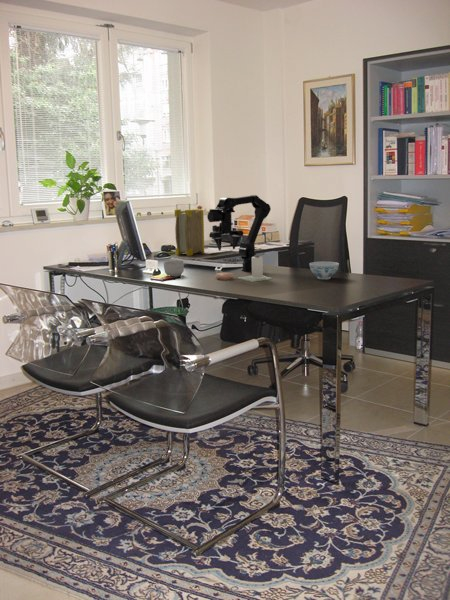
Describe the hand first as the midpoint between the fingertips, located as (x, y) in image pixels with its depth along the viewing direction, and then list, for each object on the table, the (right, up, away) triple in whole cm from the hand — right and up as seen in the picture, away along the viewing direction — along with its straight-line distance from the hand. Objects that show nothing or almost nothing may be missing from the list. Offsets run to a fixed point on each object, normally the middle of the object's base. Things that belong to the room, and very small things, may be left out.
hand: (226, 249), depth 374 cm
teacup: (-28, -14, 0) cm, 32 cm away
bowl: (-1, -16, -14) cm, 21 cm away
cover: (+16, -16, -18) cm, 28 cm away
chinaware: (+50, -16, -19) cm, 56 cm away
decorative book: (-24, +3, +88) cm, 91 cm away
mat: (+15, -16, -16) cm, 27 cm away
